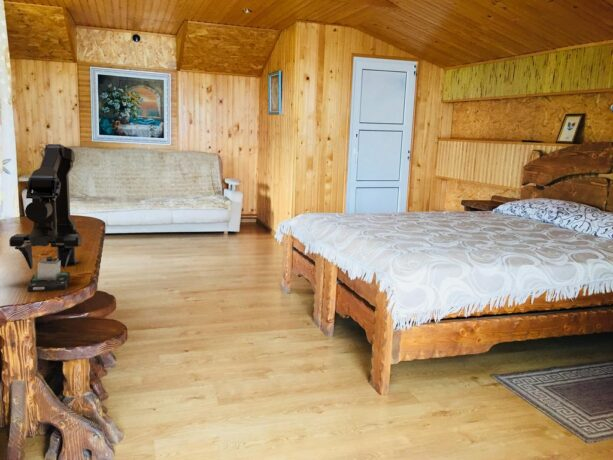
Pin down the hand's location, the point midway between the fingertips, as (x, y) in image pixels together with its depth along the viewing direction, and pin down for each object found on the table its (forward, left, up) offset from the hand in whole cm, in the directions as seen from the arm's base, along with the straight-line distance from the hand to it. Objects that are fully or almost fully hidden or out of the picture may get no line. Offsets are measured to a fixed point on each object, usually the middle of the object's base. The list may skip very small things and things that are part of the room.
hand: (47, 268), depth 161 cm
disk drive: (0, 0, -6) cm, 6 cm away
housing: (0, 0, -3) cm, 3 cm away
